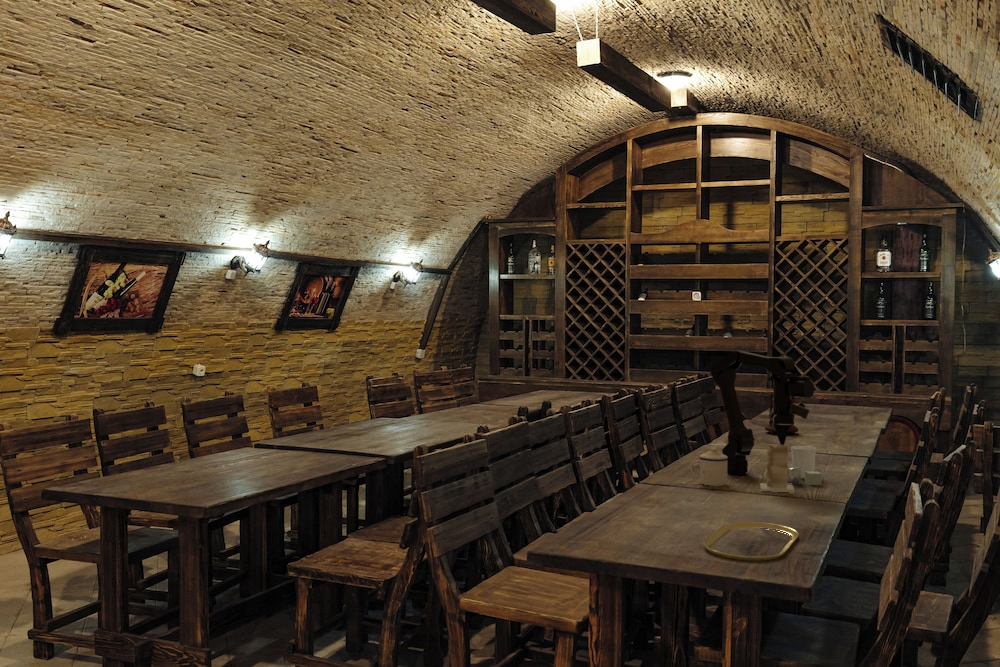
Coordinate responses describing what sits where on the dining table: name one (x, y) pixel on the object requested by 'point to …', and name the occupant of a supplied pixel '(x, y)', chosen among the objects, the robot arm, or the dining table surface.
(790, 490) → the tile
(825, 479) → the dining table surface
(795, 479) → the grey cylinder
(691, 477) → the dining table surface
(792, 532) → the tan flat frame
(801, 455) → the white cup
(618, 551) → the dining table surface
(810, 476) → the sage cube
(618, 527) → the dining table surface
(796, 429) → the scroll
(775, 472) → the oak block
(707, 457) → the teacup with lid
